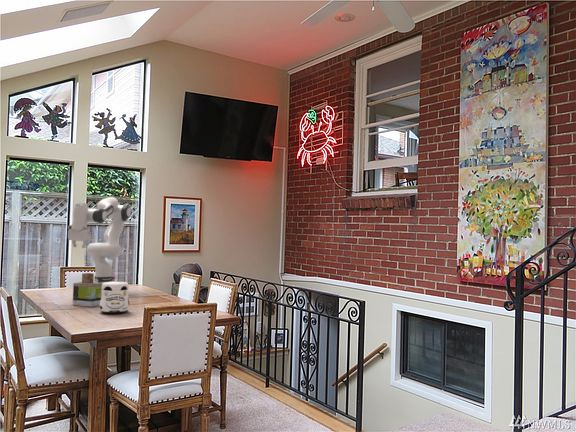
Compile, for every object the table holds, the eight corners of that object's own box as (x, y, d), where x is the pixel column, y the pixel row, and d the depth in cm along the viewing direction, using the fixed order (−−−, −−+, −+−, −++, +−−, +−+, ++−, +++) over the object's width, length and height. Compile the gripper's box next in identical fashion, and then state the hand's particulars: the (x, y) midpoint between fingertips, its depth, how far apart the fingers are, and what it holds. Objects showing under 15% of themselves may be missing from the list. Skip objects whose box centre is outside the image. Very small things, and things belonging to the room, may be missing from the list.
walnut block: (88, 282, 327) (88, 273, 327) (93, 282, 325) (93, 273, 325) (81, 282, 323) (82, 273, 323) (86, 283, 320) (87, 274, 320)
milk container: (111, 316, 290) (113, 285, 291) (93, 312, 300) (94, 283, 300) (135, 312, 305) (136, 283, 305) (116, 308, 314) (117, 280, 314)
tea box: (101, 305, 326) (102, 282, 326) (90, 307, 316) (91, 284, 316) (83, 303, 331) (84, 281, 331) (72, 305, 321) (72, 282, 321)
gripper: (93, 227, 330) (93, 248, 330) (74, 226, 340) (73, 246, 340) (85, 227, 324) (84, 248, 324) (66, 226, 335) (65, 246, 335)
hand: (79, 247), depth 332 cm, fingers open, 8 cm apart
